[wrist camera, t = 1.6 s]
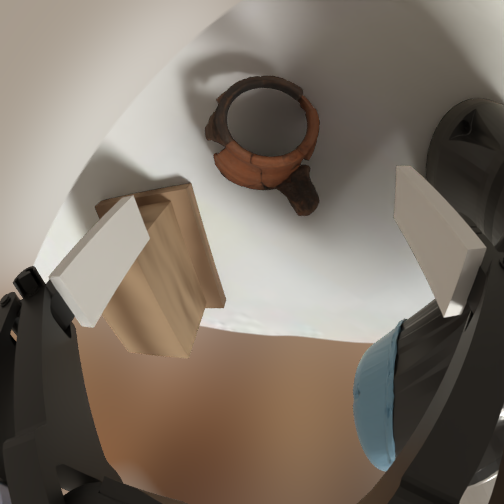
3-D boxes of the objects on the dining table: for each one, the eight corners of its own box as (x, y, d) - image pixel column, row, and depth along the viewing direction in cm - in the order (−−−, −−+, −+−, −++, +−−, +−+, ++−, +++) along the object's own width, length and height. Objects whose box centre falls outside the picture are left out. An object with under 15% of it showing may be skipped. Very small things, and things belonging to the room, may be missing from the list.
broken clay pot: (191, 142, 25) (174, 113, 17) (266, 88, 25) (278, 45, 17) (271, 237, 27) (287, 246, 19) (343, 177, 27) (382, 165, 19)
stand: (191, 183, 27) (149, 237, 19) (226, 299, 36) (209, 364, 28) (101, 200, 30) (50, 249, 22) (147, 300, 39) (120, 355, 31)
